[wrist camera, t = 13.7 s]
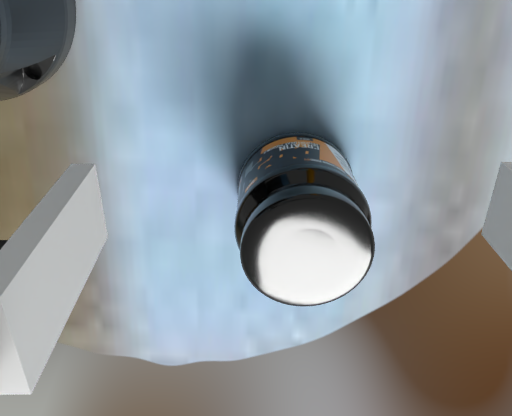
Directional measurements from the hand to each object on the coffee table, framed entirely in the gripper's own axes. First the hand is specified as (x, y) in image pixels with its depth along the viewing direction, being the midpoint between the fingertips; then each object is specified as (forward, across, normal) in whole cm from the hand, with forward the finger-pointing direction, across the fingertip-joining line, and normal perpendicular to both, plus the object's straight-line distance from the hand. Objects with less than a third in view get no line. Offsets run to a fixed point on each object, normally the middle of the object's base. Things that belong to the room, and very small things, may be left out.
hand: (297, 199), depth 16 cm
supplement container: (+26, +3, -12) cm, 28 cm away
